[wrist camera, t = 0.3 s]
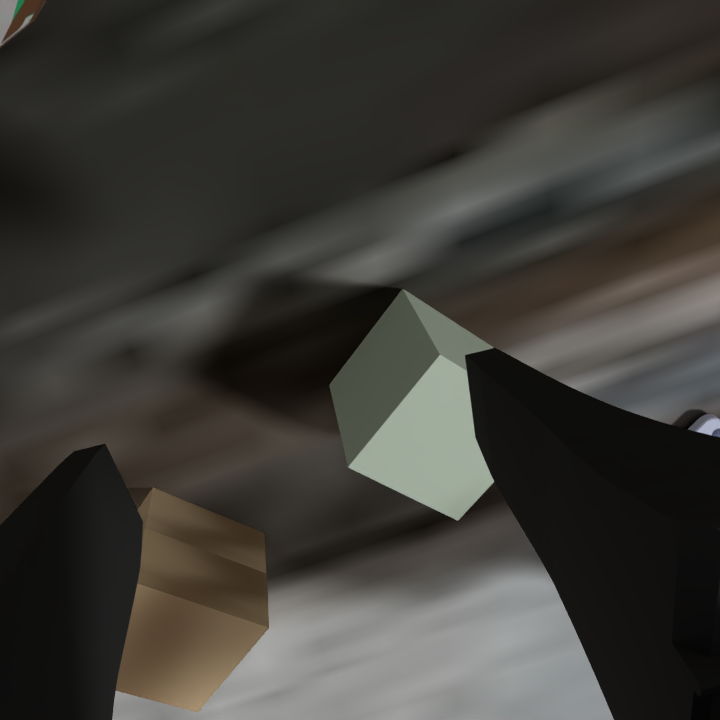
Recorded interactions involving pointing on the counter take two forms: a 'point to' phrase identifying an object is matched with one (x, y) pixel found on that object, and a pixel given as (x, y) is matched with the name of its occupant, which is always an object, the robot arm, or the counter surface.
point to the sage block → (413, 408)
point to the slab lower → (203, 529)
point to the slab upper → (189, 622)
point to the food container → (17, 17)
